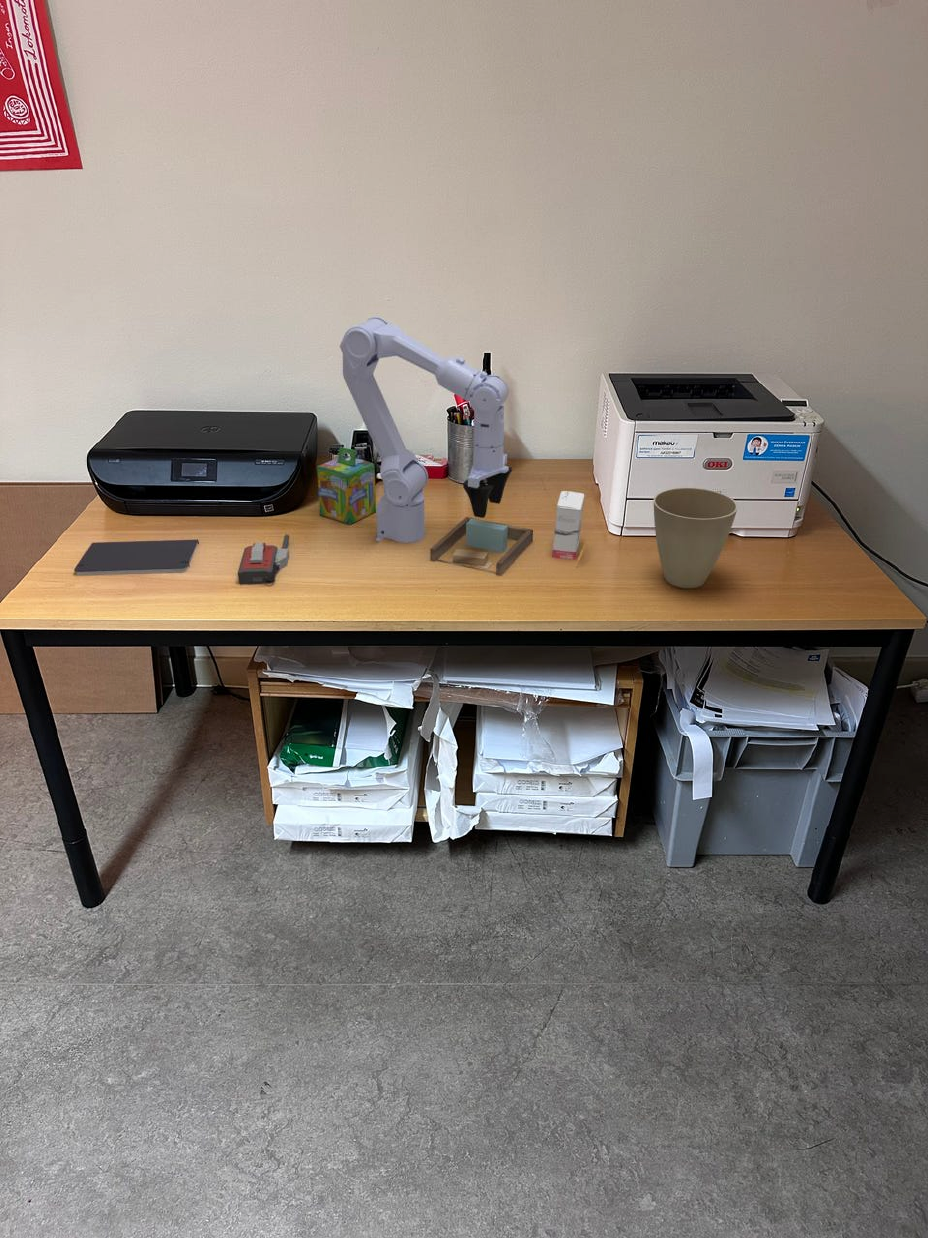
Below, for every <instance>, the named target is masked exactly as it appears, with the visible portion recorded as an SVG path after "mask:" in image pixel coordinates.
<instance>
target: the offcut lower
mask: <svg viewBox="0 0 928 1238" xmlns="http://www.w3.org/2000/svg"><path fill="white" fill-rule="evenodd" d="M449 562H453V557H452V558H451V559H450V560H449ZM453 563H454V562H453ZM459 564H462V563H459ZM493 564H494V562H493V561H489V560H488V561H487V562H486V564H485V566H478V565H470V564H462V565H467V566H471V567H476V568H480V569H485V570H489V568H490V567H491V566H492V565H493Z"/></svg>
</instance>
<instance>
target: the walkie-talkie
mask: <svg viewBox="0 0 928 1238" xmlns="http://www.w3.org/2000/svg"><path fill="white" fill-rule="evenodd" d="M289 541H290V535H289V534H285V535H284V536H283V540H282V546H281V548H278V547H277V546H276V545H272V544H271V545H270V544H269V545H268V544H267V545H266V542H253V544H252V545H248V546H246V547H244V550H243V553H242V556H241V560H240V563H239V567H238V570H237V576H238V577H237V578H238V583H239V584H241V585H262V584H263V585H265V584H267V585H268V584H273V583H274V582H275V580H276V576H277V572H278V571H280V570H283V569H284V568H286V567H287V566H288V563H289V559H290V549H289V548H288V547H289V546H288V545H289Z"/></svg>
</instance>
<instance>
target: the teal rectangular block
mask: <svg viewBox="0 0 928 1238" xmlns="http://www.w3.org/2000/svg"><path fill="white" fill-rule="evenodd" d="M475 519H476V518H474V519H470V520H469V521H468V522H467V523H466V534H465V546H467V547H471V548H476V549H480V550H484V551H485V550H486V551H490V552H496V553H500V554H503V553H504V552H505V551H507V549H508V539H507V532H508V526H506V525H507V524H505V525H501V524H502V523H500V524H495V523H496V522H495V523H490V522H491V521H490V522H485V521H486V520H485V521H480V520H481V519H480V520H475Z"/></svg>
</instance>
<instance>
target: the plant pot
mask: <svg viewBox="0 0 928 1238" xmlns="http://www.w3.org/2000/svg"><path fill="white" fill-rule="evenodd" d="M738 508H739V506H738V503H737V502H736V500H734V499H733V498H732V497H730V496H729V495H726V494H724V493H723V492H719V491H716V490H712V489H707V488H703V487H701V488H699V487H690V486H689V487H685V486H684V487H674V488H668V489H666V490H663V491H661V492H658V493H657V494H656V495H655V496H654V497H653V519H654V521H653V522H654V531H655V538H656V539H655V540H656V545H657V551H658V556H659V559H660V560H659V561H660V565H661V568H662V569H661V570H662V573H663V576H664V579H665V581H666V583H668V584H670V585H672V586H674V587H675V588H676V587H677V588H680V589H695V588H699V587H701V586H703V585H704V584H705V583H706V581H707V579H708V577H709V576H710V574H711V573H712V571H713V569H714V567H715V565H716V563H717V561H718V560H719V558H720V555H721V554H722V551H723V549H724V547H725V544H726V542H727V541H728V537H729V535H730V532H731V529H732V527H733V523H734V521H735V517H736V514H737V511H738Z"/></svg>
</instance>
